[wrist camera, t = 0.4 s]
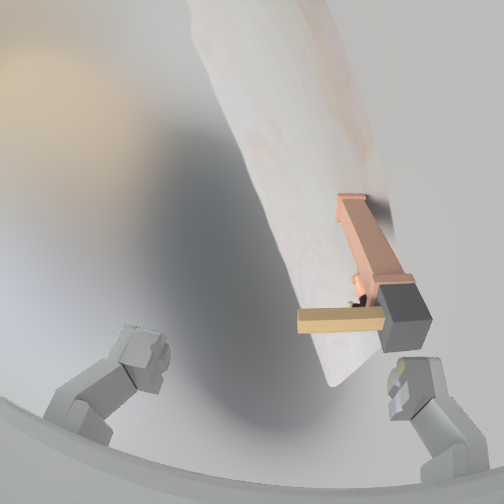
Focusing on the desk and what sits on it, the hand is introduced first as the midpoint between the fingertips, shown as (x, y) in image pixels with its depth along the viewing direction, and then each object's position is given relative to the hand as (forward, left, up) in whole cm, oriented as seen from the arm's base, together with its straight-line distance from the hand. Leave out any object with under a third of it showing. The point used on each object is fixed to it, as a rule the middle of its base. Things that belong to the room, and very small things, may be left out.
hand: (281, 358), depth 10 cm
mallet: (+15, +8, -20) cm, 26 cm away
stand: (+15, +13, -46) cm, 50 cm away
